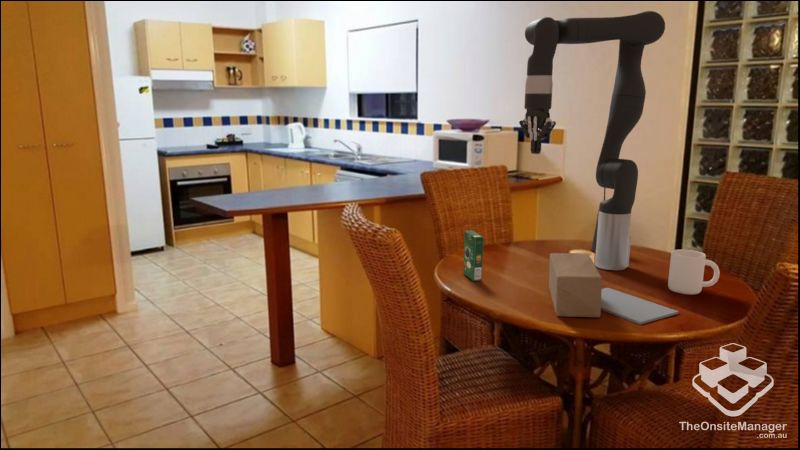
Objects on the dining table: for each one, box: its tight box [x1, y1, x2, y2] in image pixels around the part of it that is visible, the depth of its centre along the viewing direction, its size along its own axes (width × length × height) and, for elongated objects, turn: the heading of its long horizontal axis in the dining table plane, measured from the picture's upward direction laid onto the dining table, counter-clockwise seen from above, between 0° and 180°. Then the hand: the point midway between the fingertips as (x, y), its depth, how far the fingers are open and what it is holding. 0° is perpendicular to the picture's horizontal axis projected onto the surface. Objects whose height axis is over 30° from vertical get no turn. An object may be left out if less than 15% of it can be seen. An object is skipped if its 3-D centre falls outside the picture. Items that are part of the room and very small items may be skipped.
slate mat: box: [601, 287, 680, 325], centre depth 143 cm, size 14×21×1 cm, turn 30°
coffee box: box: [462, 230, 485, 282], centre depth 164 cm, size 8×3×13 cm, turn 16°
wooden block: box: [548, 252, 603, 318], centre depth 143 cm, size 10×10×20 cm
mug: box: [667, 249, 721, 295], centre depth 153 cm, size 12×8×10 cm
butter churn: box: [590, 188, 607, 253], centre depth 192 cm, size 9×10×28 cm
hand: (535, 153), depth 167 cm, fingers closed
